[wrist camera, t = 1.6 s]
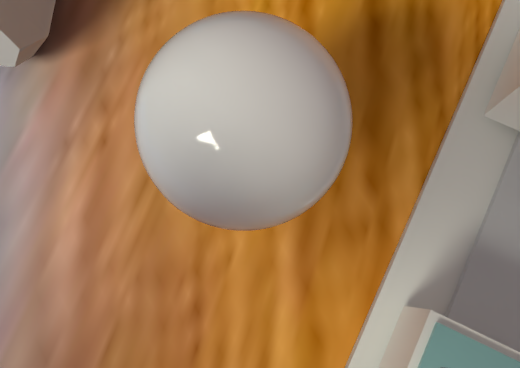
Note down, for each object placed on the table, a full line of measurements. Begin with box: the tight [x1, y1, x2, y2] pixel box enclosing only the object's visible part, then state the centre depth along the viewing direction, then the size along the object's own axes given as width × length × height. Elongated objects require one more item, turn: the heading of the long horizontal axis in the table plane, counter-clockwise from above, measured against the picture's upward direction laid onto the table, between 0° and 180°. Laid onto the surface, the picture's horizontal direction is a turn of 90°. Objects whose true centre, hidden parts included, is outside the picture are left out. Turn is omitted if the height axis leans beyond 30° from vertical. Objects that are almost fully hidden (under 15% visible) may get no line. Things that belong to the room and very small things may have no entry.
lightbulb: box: [134, 11, 353, 231], centre depth 17 cm, size 6×6×11 cm
